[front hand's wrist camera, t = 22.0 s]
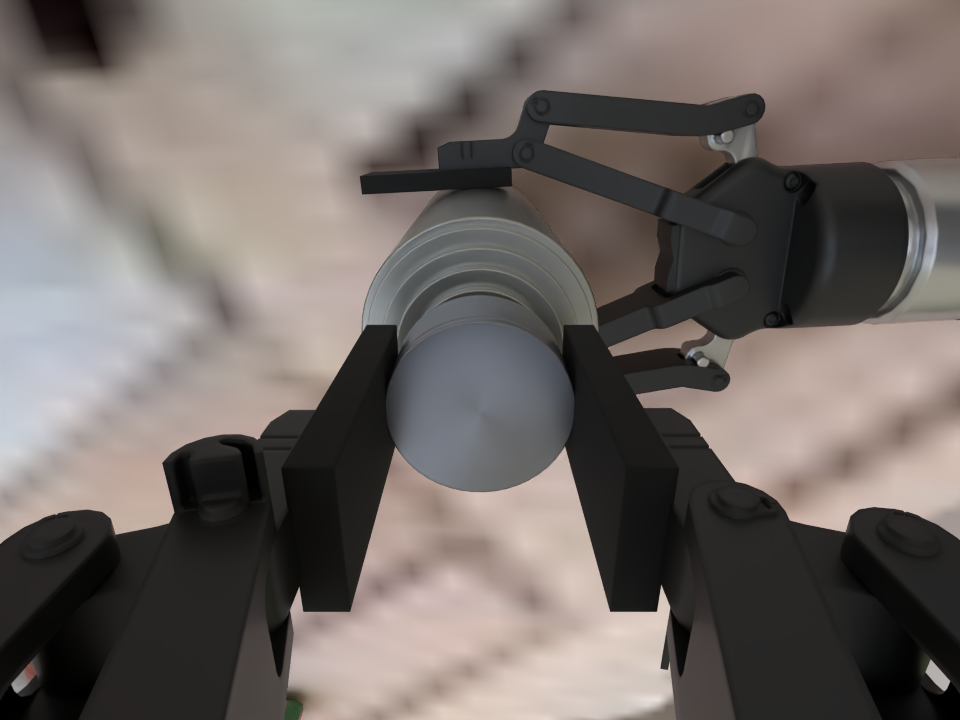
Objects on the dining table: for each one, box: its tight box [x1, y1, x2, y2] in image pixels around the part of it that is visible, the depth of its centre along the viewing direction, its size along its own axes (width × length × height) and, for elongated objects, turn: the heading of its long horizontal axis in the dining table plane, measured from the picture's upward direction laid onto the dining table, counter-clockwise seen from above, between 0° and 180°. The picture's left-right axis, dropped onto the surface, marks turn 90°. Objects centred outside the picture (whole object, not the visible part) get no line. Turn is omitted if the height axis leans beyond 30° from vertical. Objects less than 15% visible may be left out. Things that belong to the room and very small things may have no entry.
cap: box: [385, 295, 575, 492], centre depth 13 cm, size 4×4×2 cm
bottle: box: [362, 186, 599, 355], centre depth 23 cm, size 7×7×21 cm
